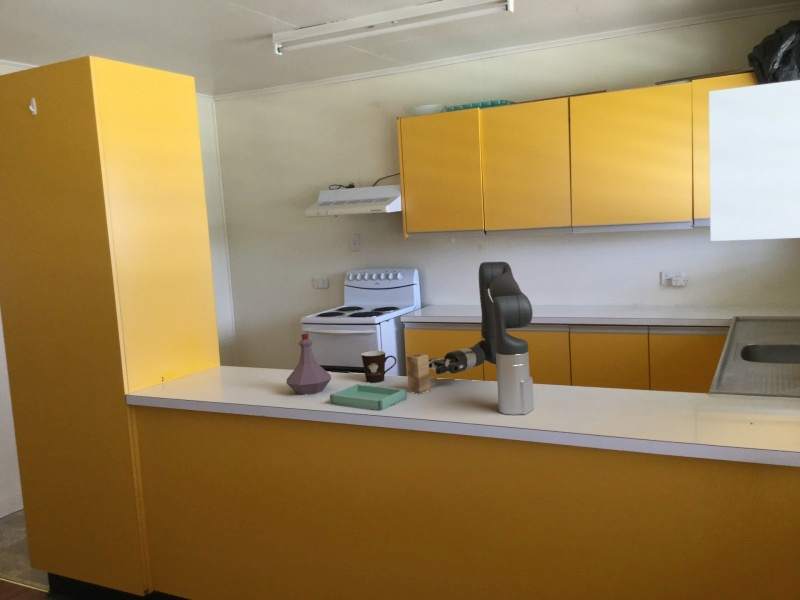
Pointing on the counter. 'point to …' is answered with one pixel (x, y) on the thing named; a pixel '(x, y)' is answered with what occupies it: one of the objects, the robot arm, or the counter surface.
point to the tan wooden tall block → (418, 373)
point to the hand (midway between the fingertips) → (427, 369)
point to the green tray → (368, 397)
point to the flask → (308, 371)
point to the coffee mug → (375, 365)
